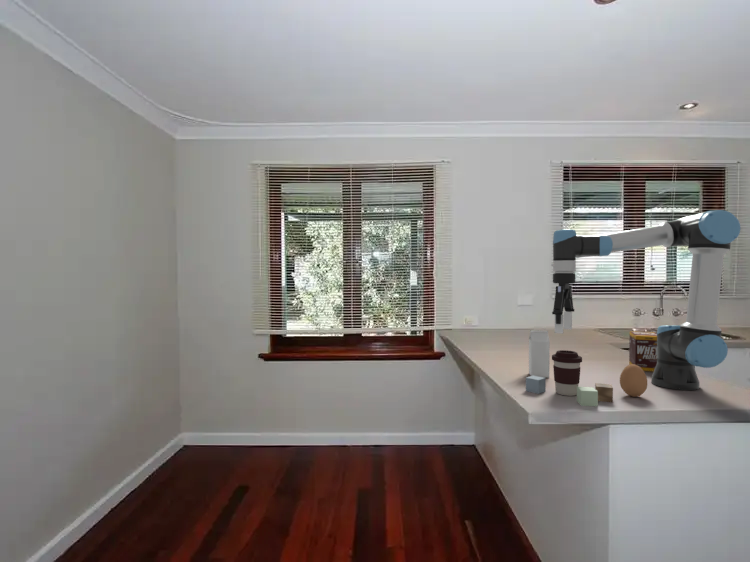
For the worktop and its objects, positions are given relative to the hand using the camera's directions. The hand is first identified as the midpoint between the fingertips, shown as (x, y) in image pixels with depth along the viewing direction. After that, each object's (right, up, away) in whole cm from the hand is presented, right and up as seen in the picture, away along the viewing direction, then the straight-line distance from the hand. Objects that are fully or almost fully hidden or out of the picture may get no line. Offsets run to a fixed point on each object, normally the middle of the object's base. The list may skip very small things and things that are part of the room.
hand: (563, 331), depth 156 cm
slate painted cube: (-10, -22, +2) cm, 24 cm away
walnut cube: (+10, -22, -9) cm, 26 cm away
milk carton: (+1, -22, +25) cm, 33 cm away
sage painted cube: (+2, -23, -14) cm, 26 cm away
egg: (+22, -22, -6) cm, 32 cm away
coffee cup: (0, -22, -2) cm, 22 cm away
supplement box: (+54, -21, +39) cm, 70 cm away
